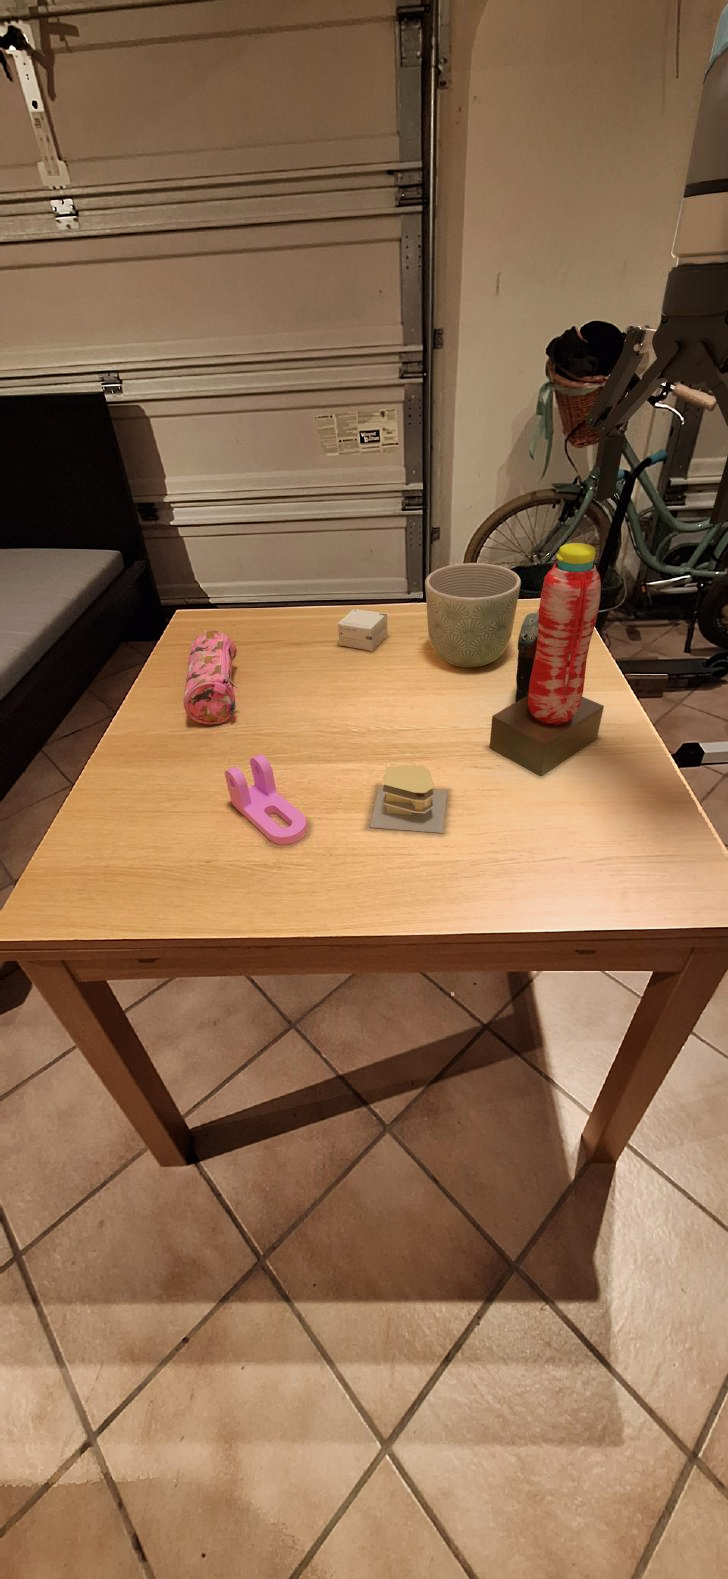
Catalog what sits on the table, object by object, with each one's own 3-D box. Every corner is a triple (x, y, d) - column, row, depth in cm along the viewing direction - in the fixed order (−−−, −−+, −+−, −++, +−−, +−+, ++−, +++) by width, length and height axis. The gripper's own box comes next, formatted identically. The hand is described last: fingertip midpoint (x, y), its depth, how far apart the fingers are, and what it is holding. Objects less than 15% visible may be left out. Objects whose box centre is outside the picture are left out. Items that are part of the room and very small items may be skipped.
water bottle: (513, 691, 100) (530, 529, 85) (563, 688, 100) (590, 525, 85) (531, 734, 91) (554, 560, 75) (586, 730, 91) (621, 556, 75)
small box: (338, 646, 129) (336, 622, 126) (355, 630, 135) (354, 607, 131) (372, 652, 126) (371, 628, 123) (388, 635, 132) (388, 612, 128)
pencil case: (243, 723, 109) (233, 678, 103) (188, 731, 108) (176, 685, 102) (240, 665, 125) (232, 623, 119) (193, 671, 124) (182, 629, 119)
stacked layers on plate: (369, 827, 86) (367, 796, 83) (379, 786, 93) (377, 756, 90) (442, 833, 85) (443, 802, 81) (447, 791, 92) (448, 760, 88)
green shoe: (537, 725, 103) (554, 608, 91) (499, 716, 106) (510, 601, 93) (569, 670, 117) (587, 561, 104) (534, 663, 119) (548, 557, 106)
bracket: (232, 804, 92) (222, 766, 88) (264, 787, 95) (256, 749, 90) (281, 850, 84) (273, 811, 80) (315, 831, 87) (309, 792, 82)
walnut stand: (597, 738, 100) (604, 705, 96) (541, 776, 93) (546, 743, 89) (545, 713, 106) (550, 682, 102) (489, 748, 99) (492, 715, 95)
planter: (417, 674, 118) (417, 596, 109) (431, 634, 131) (432, 561, 121) (510, 681, 115) (518, 600, 105) (515, 639, 127) (523, 564, 118)
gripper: (891, 248, 51) (792, 523, 64) (615, 265, 66) (582, 484, 79) (853, 252, 47) (757, 542, 61) (572, 268, 63) (545, 497, 76)
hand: (658, 509), depth 70 cm, fingers open, 13 cm apart
